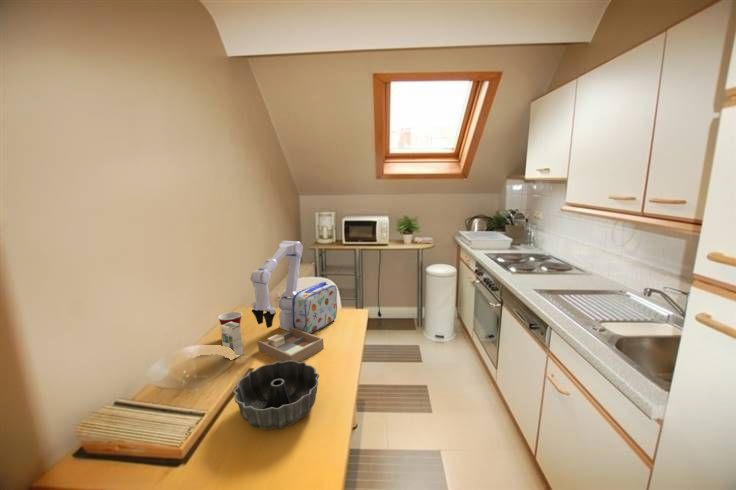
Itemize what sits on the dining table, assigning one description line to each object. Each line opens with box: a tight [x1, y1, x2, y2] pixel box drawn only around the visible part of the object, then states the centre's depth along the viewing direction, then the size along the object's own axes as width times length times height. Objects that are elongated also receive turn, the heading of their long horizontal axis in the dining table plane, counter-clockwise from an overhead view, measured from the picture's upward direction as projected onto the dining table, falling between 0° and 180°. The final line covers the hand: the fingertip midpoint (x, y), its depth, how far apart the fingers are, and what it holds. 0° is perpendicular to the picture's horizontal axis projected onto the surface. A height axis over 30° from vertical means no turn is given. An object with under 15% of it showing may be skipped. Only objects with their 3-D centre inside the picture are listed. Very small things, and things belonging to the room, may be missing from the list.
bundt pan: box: [232, 360, 320, 430], centre depth 107 cm, size 26×26×10 cm
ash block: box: [267, 333, 285, 348], centre depth 147 cm, size 5×5×3 cm
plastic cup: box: [217, 311, 243, 327], centre depth 158 cm, size 11×11×12 cm
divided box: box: [257, 327, 325, 363], centre depth 147 cm, size 22×18×4 cm
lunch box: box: [292, 281, 338, 334], centre depth 168 cm, size 28×10×22 cm, turn 150°
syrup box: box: [220, 322, 244, 356], centre depth 141 cm, size 6×6×14 cm
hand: (264, 325), depth 150 cm, fingers open, 6 cm apart
